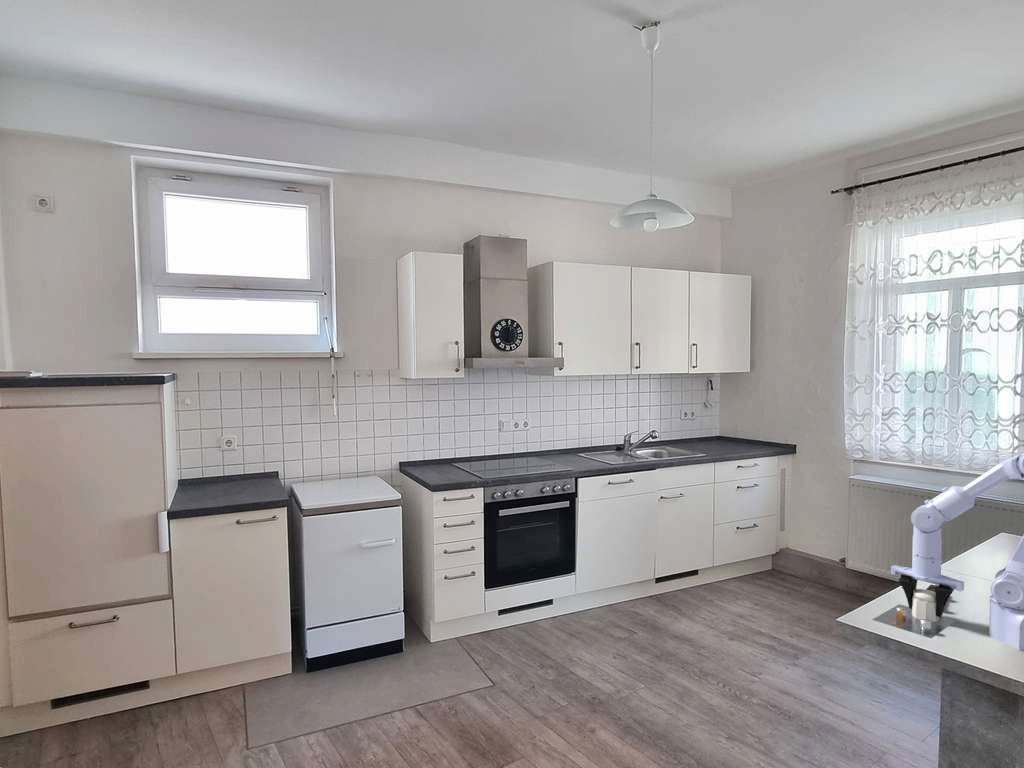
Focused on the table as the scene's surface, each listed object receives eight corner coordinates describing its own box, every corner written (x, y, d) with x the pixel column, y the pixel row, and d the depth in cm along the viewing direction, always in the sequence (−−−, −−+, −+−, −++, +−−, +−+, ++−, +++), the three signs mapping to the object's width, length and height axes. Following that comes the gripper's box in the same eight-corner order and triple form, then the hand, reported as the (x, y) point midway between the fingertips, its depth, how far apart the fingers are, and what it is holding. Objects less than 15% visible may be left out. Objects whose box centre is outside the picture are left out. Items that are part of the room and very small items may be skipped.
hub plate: (899, 608, 149) (899, 594, 149) (955, 624, 139) (956, 610, 139) (871, 623, 139) (872, 609, 139) (930, 642, 129) (931, 626, 129)
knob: (930, 613, 143) (931, 589, 143) (942, 622, 138) (943, 597, 138) (908, 612, 143) (909, 588, 143) (919, 620, 138) (920, 595, 138)
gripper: (886, 550, 144) (885, 605, 144) (957, 566, 132) (955, 626, 132) (897, 546, 148) (896, 599, 148) (967, 561, 136) (966, 618, 137)
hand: (925, 611), depth 141 cm, fingers closed on knob, 5 cm apart
